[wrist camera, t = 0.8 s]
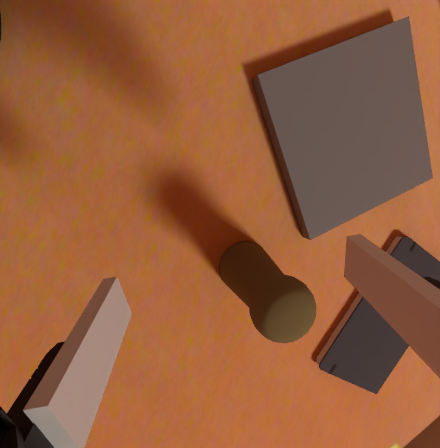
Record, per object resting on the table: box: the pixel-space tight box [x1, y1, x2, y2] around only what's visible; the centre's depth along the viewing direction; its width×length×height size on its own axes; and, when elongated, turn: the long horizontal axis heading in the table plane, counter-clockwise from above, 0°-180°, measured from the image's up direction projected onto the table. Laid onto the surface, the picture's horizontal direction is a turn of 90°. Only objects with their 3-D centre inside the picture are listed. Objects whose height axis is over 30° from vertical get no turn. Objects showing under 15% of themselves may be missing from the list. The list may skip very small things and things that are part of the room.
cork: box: [219, 241, 316, 343], centre depth 23 cm, size 6×6×11 cm
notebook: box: [316, 236, 440, 394], centre depth 34 cm, size 13×2×21 cm
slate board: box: [252, 16, 433, 240], centre depth 27 cm, size 18×18×2 cm
